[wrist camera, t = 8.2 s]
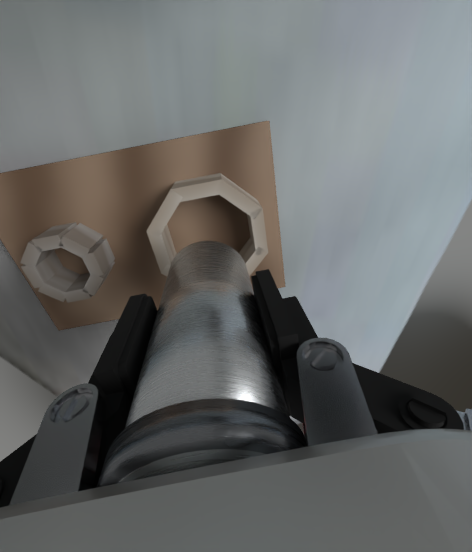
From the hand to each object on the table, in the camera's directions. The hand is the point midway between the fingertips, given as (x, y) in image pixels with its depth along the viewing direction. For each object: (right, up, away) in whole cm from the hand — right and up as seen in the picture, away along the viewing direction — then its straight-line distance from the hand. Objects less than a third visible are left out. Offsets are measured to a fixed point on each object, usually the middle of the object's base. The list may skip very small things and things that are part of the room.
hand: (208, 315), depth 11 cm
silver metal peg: (0, +2, +3) cm, 3 cm away
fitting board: (-5, +5, +9) cm, 12 cm away
